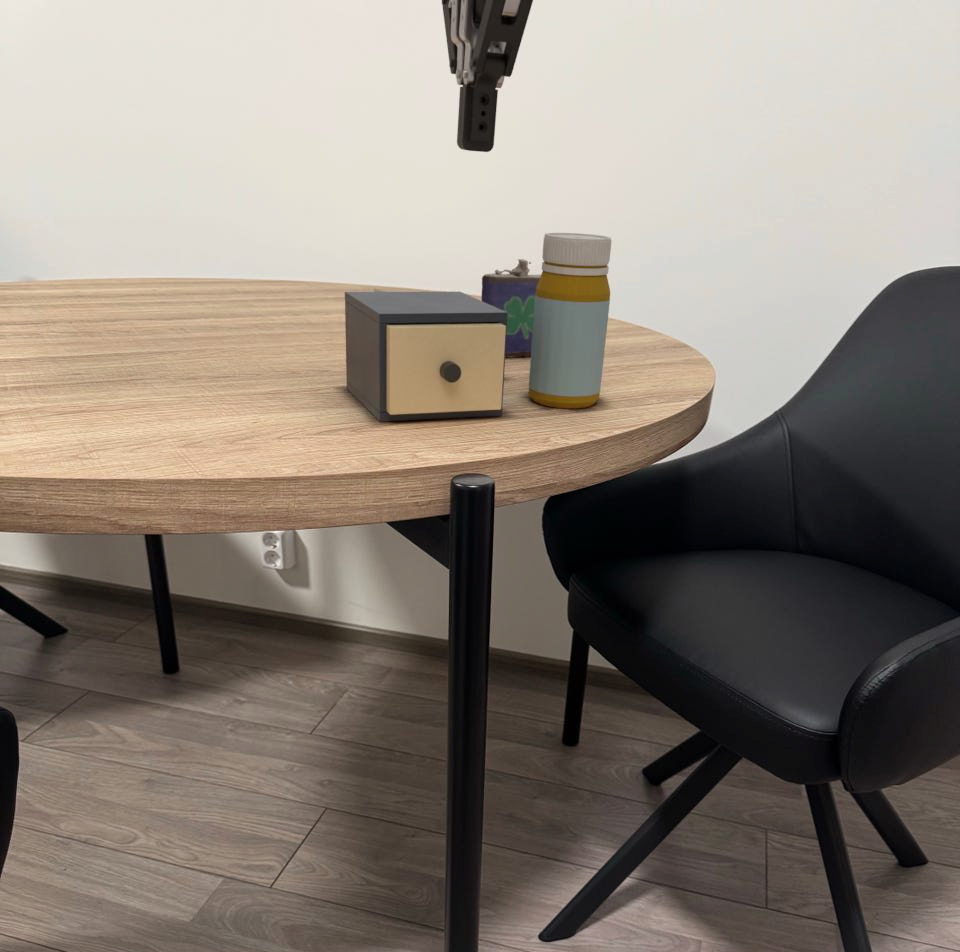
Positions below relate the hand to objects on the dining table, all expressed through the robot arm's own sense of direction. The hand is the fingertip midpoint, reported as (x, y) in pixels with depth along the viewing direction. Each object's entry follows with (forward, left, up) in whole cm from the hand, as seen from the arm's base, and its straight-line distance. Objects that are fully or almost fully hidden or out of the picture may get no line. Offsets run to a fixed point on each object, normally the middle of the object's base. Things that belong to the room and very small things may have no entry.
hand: (474, 150), depth 64 cm
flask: (+20, +38, -22) cm, 48 cm away
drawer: (+2, +16, -21) cm, 26 cm away
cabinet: (+2, +18, -22) cm, 28 cm away
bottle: (+16, +16, -22) cm, 31 cm away
